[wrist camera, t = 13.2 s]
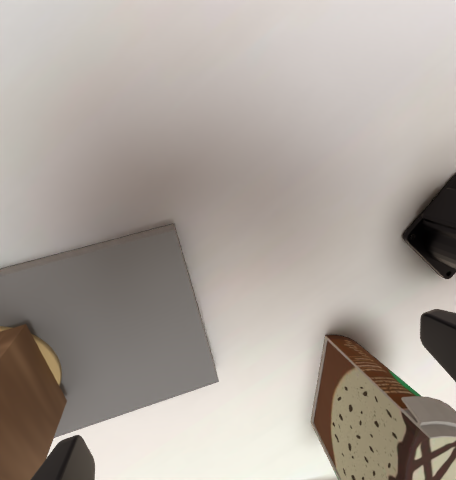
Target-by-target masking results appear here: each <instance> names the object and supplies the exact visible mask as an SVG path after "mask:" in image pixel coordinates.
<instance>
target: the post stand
mask: <svg viewBox="0 0 456 480" xmlns="http://www.w3.org/2000/svg"><path fill="white" fill-rule="evenodd" d="M25 324H26V325H27V327H28V329H29V330H30V332H31V334H32V336H33V338H34V340H35V342H36V343H37V345H38V347H39V349H40V351H41V353H42V355H43V357H44V358H45V360H46V362H47V364H48V366H49V368H50V370H51V372H52V373H53V375H54V377H55V379H56V381H57V383H58V385H59V386H60V388H61V390H62V392H63V394H64V396H65V398H66V400H67V403H66V405H65V408H64V411H63V414H62V416H61V419H60V422H59V425H58V427H57V430H56V433H55V436H54V438H55V437H58V436H61V435H64V434H67V433H70V432H73V431H76V430H79V429H81V428H84V427H87V426H90V425H93V424H96V423H99V422H102V421H105V420H108V419H111V418H114V417H117V416H120V415H123V414H125V413H128V412H131V411H134V410H137V409H140V408H143V407H146V406H149V405H152V404H155V403H158V402H161V401H164V400H167V399H169V398H172V397H175V396H178V395H181V394H184V393H187V392H190V391H193V390H196V389H199V388H202V387H205V386H208V385H211V384H213V383H216V382H219V381H218V376H217V372H216V368H215V365H214V361H213V358H212V354H211V351H210V347H209V344H208V340H207V337H206V333H205V330H204V326H203V323H202V319H201V316H200V312H199V309H198V305H197V302H196V298H195V295H194V291H193V288H192V285H191V281H190V278H189V274H188V271H187V267H186V264H185V260H184V257H183V253H182V250H181V246H180V243H179V239H178V236H177V232H176V229H175V225H174V224H170V225H167V226H163V227H159V228H155V229H151V230H148V231H144V232H140V233H136V234H132V235H128V236H125V237H121V238H117V239H113V240H109V241H106V242H102V243H98V244H94V245H90V246H86V247H83V248H79V249H75V250H71V251H67V252H64V253H60V254H56V255H52V256H48V257H44V258H41V259H37V260H33V261H29V262H25V263H22V264H18V265H14V266H10V267H6V268H2V269H0V331H4V330H7V329H11V328H14V327H18V326H21V325H25Z"/></svg>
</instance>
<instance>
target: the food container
mask: <svg viewBox="0 0 456 480" xmlns="http://www.w3.org/2000/svg"><path fill="white" fill-rule="evenodd" d="M311 424H312V426H313V428H314V430H315V432H316V434H317V436H318V438H319V440H320V442H321V445H322V447H323V449H324V451H325V453H326V455H327V457H328V459H329V461H330V463H331V465H332V467H333V470H334V472H335V474H336V476H337V478H338V480H456V411H455V410H454V409H453V408H451V407H450V406H449V405H448V404H446V403H444V402H442V401H440V400H437V399H433V398H430V397H422V396H421V395H419V394H418V393H417V392H416V391H415V390H413V389H412V388H411V387H410V386H408V385H407V384H406V383H405V382H404V381H402V380H401V379H400V378H399V377H398V376H396V375H395V374H394V373H393V372H392V371H390V370H389V369H388V368H387V367H386V366H384V365H383V364H382V363H381V362H379V361H378V360H377V359H376V358H375V357H373V356H372V355H371V354H370V353H369V352H367V351H366V350H365V349H364V348H363V347H361V346H360V345H359V344H358V343H357V342H355V341H354V340H352V339H350V338H347V337H344V336H339V335H325V339H324V345H323V351H322V357H321V363H320V369H319V375H318V381H317V387H316V393H315V399H314V405H313V411H312V417H311Z"/></svg>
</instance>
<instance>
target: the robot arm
mask: <svg viewBox="0 0 456 480" xmlns="http://www.w3.org/2000/svg"><path fill="white" fill-rule="evenodd" d="M411 235H412V236H411ZM410 236H411V238H410ZM403 239H404V241H405V242H406V243H407V244H408V245H410V246H411V247H412V248H413V249H414V250H415V251H416V252H417V253H418V254H419V255H420V256H421V257H422V258H423V259H424V260H425V261H426V262H427V263H428V264H429V265H430V266H431V267H432V268H433V269H434V270H435V271H436V272H437V273H438V274H439V275H440V276H441V277H443V278H445V279H449V278H451V277H452V276H453V275H454V274H455V273H456V174H455V175H454V177H453V178H452V179H451V180H450V181H449V182H448V183H447V185H446V186H445V187H444V188H443V189H442V190H441V192H440V193H439V194H438V195H437V196H436V197H435V198H434V200H433V201H432V202H431V203H430V204H429V205H428V206H427V208H426V209H425V210H424V211H423V212H422V213H421V214H420V216H419V217H418V218H417V219H416V220H415V221H414V223H413V224H412V225H411V226H410V227H409V228H408V229H407V231H406V232H405V233H404V236H403ZM420 339H421V342H422V344H423V345H424V347H425V348H426V349H427V350H428V351H429V353H430V354H431V355H432V356H433V357H434V358H435V359H436V360H437V361H438V363H439V364H440V365H441V366H442V367H443V368H444V369H445V370H446V371H447V373H448V374H449V375H450V376H451V377H452V378H453V379H454V380H455V382H456V313H452V312H448V311H444V310H440V309H434V310H431V311H428V312H425V313H423V314H422V315H421V321H420ZM94 478H95V463H94V458H93V456H92V454H91V452H90V451H89V449H88V447H87V445H86V443H85V442H84V440H83V438H82V437H81V436H79V435H76V436H73V437H70V438H67V439H64V440H62V441H60V442H59V443H58V444H57V445H56V447H55V448H54V449H53V451H52V452H51V453H50V455H49V456H48V457H47V459H46V460H45V461H44V462H43V464H42V465H41V466H40V468H39V469H38V470H37V472H36V473H35V474H34V476H33V477H32V478H31V480H94Z"/></svg>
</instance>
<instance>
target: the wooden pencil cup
mask: <svg viewBox="0 0 456 480" xmlns="http://www.w3.org/2000/svg"><path fill="white" fill-rule="evenodd" d="M66 403H67V400H66V398H65V396H64V394H63V392H62V390H61V388H60V386H59V385H58V383H57V381H56V379H55V377H54V375H53V373H52V372H51V370H50V368H49V366H48V364H47V362H46V360H45V358H44V357H43V355H42V353H41V351H40V349H39V347H38V345H37V343H36V342H35V340H34V338H33V336H32V334H31V332H30V330H29V329H28V327H27V325H26V324H25V325H21V326H18V327H14V328H11V329H7V330H4V331H0V480H31V478H32V477H33V476H34V474H35V473H36V472H37V470H38V469H39V468H40V466H41V465H42V464H43V462H44V461H45V460H46V457H47V455H48V452H49V449H50V446H51V444H52V441H53V438H54V436H55V433H56V430H57V427H58V425H59V422H60V419H61V416H62V414H63V411H64V408H65V405H66Z"/></svg>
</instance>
